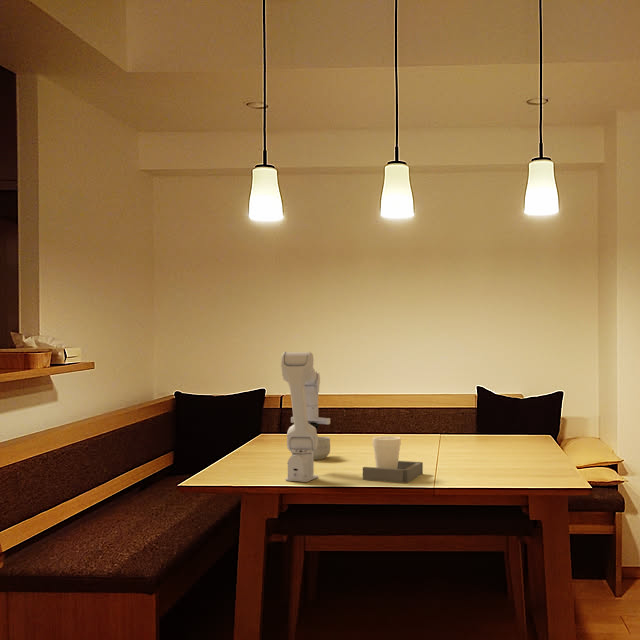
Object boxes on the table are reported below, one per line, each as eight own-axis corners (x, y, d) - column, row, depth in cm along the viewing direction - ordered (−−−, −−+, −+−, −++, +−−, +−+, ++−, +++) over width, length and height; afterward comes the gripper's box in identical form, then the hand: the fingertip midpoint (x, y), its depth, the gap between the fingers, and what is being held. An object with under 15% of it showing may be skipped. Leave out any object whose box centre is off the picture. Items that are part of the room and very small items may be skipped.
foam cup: (386, 472, 287) (386, 435, 287) (406, 476, 280) (406, 437, 280) (367, 476, 280) (367, 437, 280) (386, 479, 273) (386, 440, 273)
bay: (407, 482, 268) (407, 470, 268) (362, 479, 275) (362, 467, 275) (422, 473, 284) (422, 462, 284) (380, 470, 290) (380, 459, 290)
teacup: (317, 462, 309) (317, 440, 309) (296, 458, 316) (296, 438, 316) (341, 457, 319) (341, 436, 319) (320, 454, 327) (319, 434, 327)
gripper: (333, 404, 292) (333, 443, 292) (296, 403, 298) (296, 441, 298) (325, 406, 286) (325, 446, 286) (288, 405, 292) (288, 443, 292)
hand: (310, 443), depth 292 cm, fingers closed
